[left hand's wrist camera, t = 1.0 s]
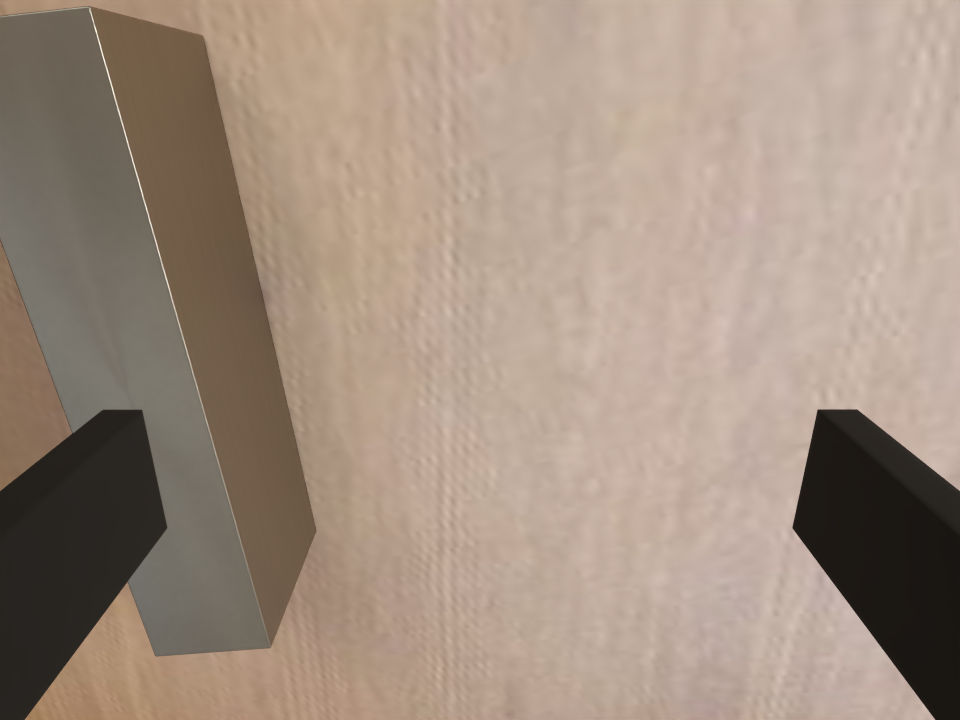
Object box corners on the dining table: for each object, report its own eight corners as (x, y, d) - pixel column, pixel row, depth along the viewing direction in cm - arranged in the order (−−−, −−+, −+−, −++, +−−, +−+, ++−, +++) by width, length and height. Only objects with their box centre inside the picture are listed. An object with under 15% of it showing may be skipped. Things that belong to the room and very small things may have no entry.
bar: (82, 48, 29) (-81, 24, 20) (203, 35, 29) (89, 5, 20) (225, 538, 39) (154, 657, 30) (316, 531, 38) (271, 648, 30)
